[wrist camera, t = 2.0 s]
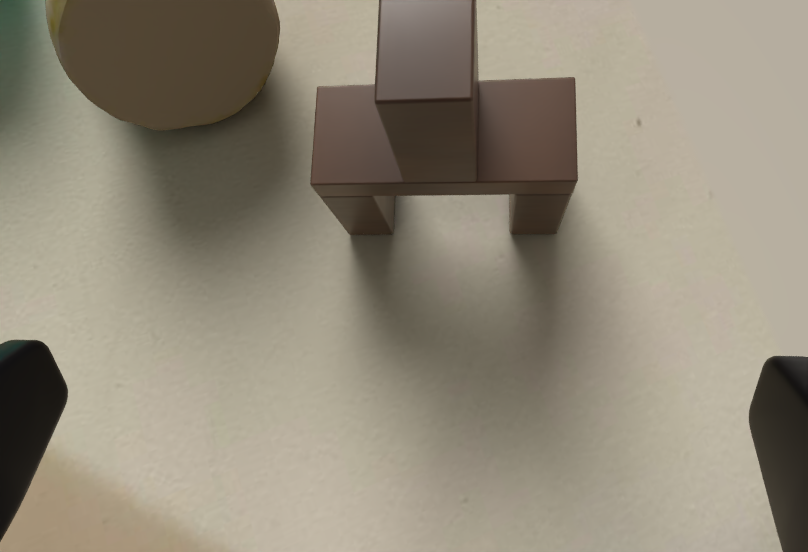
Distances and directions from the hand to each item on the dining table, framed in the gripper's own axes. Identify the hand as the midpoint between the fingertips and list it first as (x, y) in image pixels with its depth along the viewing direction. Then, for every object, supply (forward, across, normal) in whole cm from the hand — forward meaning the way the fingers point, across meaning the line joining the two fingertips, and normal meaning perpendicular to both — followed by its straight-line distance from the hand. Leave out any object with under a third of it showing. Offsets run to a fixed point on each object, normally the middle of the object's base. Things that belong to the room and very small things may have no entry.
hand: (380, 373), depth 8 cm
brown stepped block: (+14, 0, +4) cm, 15 cm away
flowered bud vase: (+19, +11, -1) cm, 22 cm away
